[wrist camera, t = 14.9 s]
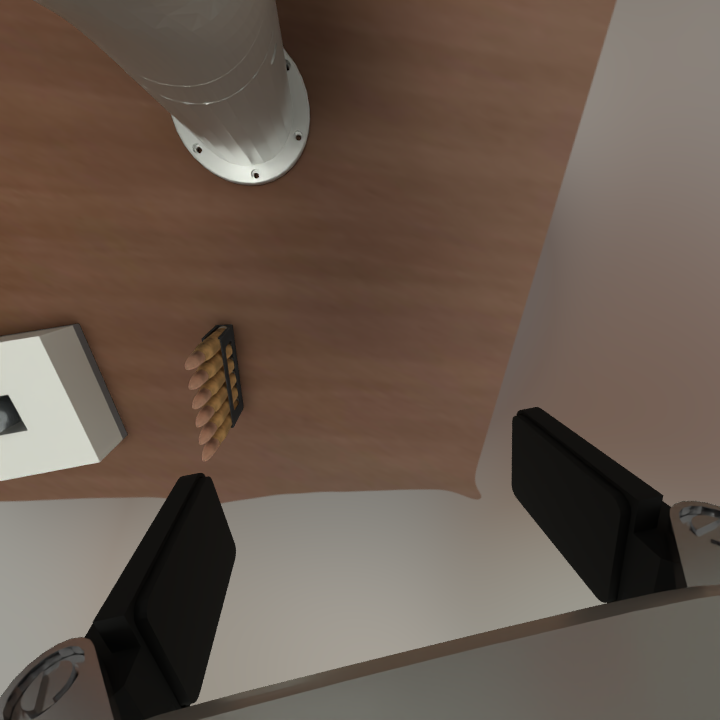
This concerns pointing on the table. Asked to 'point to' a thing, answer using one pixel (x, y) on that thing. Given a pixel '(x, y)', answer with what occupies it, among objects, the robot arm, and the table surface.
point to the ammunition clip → (215, 387)
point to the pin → (8, 413)
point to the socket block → (54, 403)
